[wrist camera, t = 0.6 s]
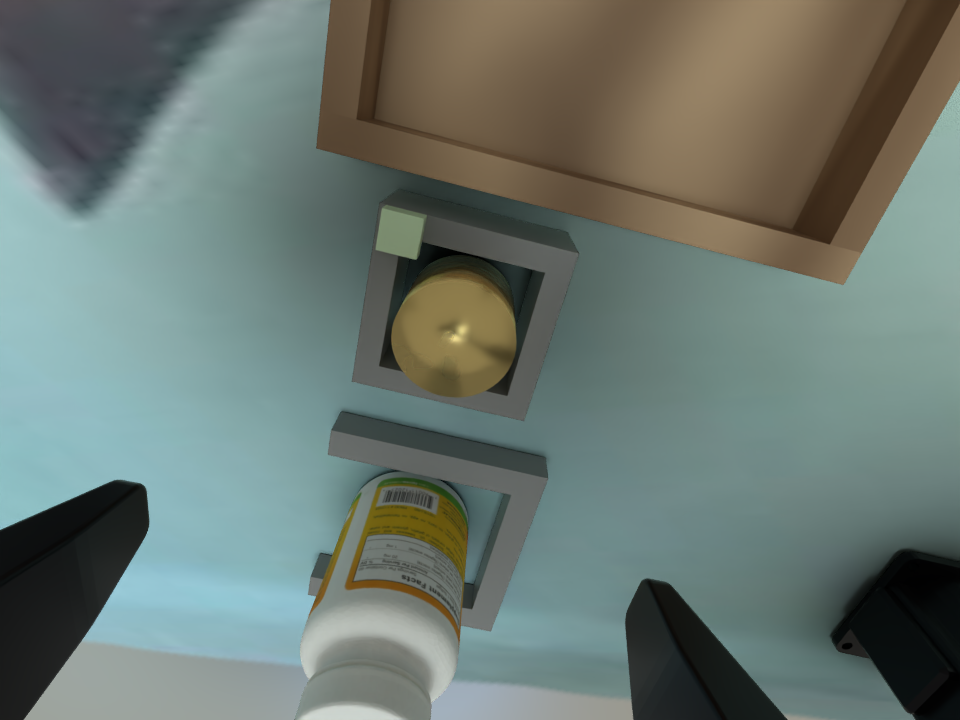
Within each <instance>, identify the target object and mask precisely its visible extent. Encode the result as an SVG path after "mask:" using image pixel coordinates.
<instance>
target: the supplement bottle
mask: <svg viewBox="0 0 960 720" xmlns="http://www.w3.org/2000/svg"><path fill="white" fill-rule="evenodd" d="M467 540H468V516H467V512H466V509H465V506H464V504H463V502H462V500H461V499H460V497H459V496H458V495H457V494H456V492H455V491H454V490H453V489H451V488H450V487H449V486H448V485H446V484H445V483H443V482H442V481H440V480H438V479H436V478H431V477H427V476H422V475H418V474H413V473H409V472H404V471H399V472H392V473H387V474H384V475H381V476H379V477H377V478H375V479H373V480H371V481H370V482H369V483H367V484H366V485H365V486H364V487H363V488H362V489H361V490H360V491H359V492H358V494H357V495H356V497H355V499H354V501H353V503H352V505H351V507H350V510H349V512H348V515H347V518H346V520H345V523H344V526H343V529H342V531H341V534H340V536H339V539H338V542H337V544H336V547H335V550H334V552H333V555H332V557H331V560H330V563H329V565H328V568H327V570H326V573H325V576H324V578H323V581H322V583H321V586H320V588H319V591H318V593H317V596H316V599H315V601H314V604H313V606H312V609H311V611H310V614H309V616H308V619H307V622H306V625H305V629H304V632H303V635H302V639H301V644H300V657H301V662H302V666H303V669H304V672H305V674H306V676H307V677H308V679H309V681H308V683H307V686H306V687H305V689H304V691H303V693H302V696H301V700H300V703H299V707H298V710H297V713H296V716H295V719H294V720H430V719H431V703H432V702H433V701H434V700H436V699H437V698H438V697H439V696H440V695H441V694H442V693H443V692H444V691H445V690H446V688H447V687H448V686H449V684H450V683H451V681H452V679H453V676H454V674H455V671H456V667H457V661H458V653H459V642H460V629H461V615H462V602H463V590H464V578H465V565H466V554H467Z"/></svg>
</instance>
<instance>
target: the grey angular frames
mask: <svg viewBox="0 0 960 720" xmlns="http://www.w3.org/2000/svg"><path fill="white" fill-rule="evenodd" d="M422 242H424V243H428V244H432V245H436V246H440V247H444V248H448V249H452V250H456V251H460V252H464V253H468V254H472V255H476V256H480V257H484V258H488V259H492V260H496V261H500V262H504V263H508V264H512V265H516V266H520V267H524V268H528V269H532V270H533V271H532V275H531V278H530V281H529V285H528V288H527V292H526V295H525V298H524V302H523V305H522V309H521V312H520V315H519V319H518V322H517V326H516V342H517V343H516V352H515V356H514V359H513V362H512V365H511V366H510V368H509V370H508V372H507V373H506V374H505V376H504V377H503V378H502V379H501V380H500V381H499V382H498V383H497V384H495V385H494V386H493V387H491V388H489V389H488V390H486V391H484V392H482V393H479V394H476V395H473V396H468V397H458V398H454V397H445V396H440V395H436V394H433V393H431V392H428V391H426V390H424V389H422V388H421V387H419V386H418V385H416V384H415V383H413V382H412V381H411V380H410V379H409V378H408V377H407V376H406V375H405V373H404V372H403V371H402V370H401V368H400V366H399V365H398V363H397V361H396V359H395V356H394V353H393V349H392V342H391V334H392V327H393V323H394V320H395V317H396V315H397V313H398V311H399V309H400V306H401V301H402V296H403V290H404V285H405V280H406V274H407V269H408V263H409V258H410V259H414V260H417V258H418V256H419V254H420V248H421V243H422ZM578 256H579V252H578V251H577V249H576V247H575V245H574V243H573V241H572V240H571V238H570V236H569V234H568V233H567V232H563V231H559V230H555V229H552V228H548V227H544V226H540V225H536V224H532V223H528V222H524V221H520V220H516V219H513V218H509V217H505V216H501V215H497V214H493V213H489V212H485V211H481V210H477V209H474V208H470V207H466V206H462V205H458V204H454V203H450V202H446V201H442V200H439V199H435V198H431V197H427V196H423V195H419V194H415V193H411V192H407V191H403V190H400V189H398V190H396V191H395V192H394V193H392V194H391V195H390V196H388V197H387V198H386V199H384V200H383V201H381V202H380V203H379V209H378V215H377V222H376V228H375V235H374V241H373V248H372V254H371V261H370V267H369V274H368V280H367V287H366V293H365V300H364V306H363V313H362V319H361V326H360V332H359V339H358V345H357V352H356V358H355V365H354V371H353V378H352V382H356V383H360V384H365V385H369V386H373V387H378V388H382V389H387V390H391V391H395V392H400V393H404V394H408V395H413V396H417V397H421V398H426V399H430V400H434V401H439V402H443V403H447V404H452V405H456V406H460V407H465V408H469V409H474V410H478V411H482V412H487V413H491V414H495V415H500V416H504V417H508V418H513V419H517V420H521V421H524V419H525V416H526V413H527V410H528V407H529V404H530V401H531V398H532V395H533V392H534V389H535V386H536V383H537V380H538V377H539V374H540V371H541V368H542V365H543V362H544V359H545V356H546V353H547V350H548V347H549V344H550V341H551V338H552V335H553V332H554V329H555V326H556V322H557V319H558V316H559V313H560V310H561V307H562V304H563V301H564V298H565V295H566V292H567V289H568V286H569V283H570V280H571V277H572V274H573V271H574V268H575V265H576V262H577V259H578ZM328 455H331V456H336V457H340V458H345V459H349V460H354V461H359V462H363V463H368V464H372V465H377V466H381V467H386V468H390V469H395V470H400V471H404V472H409V473H413V474H418V475H422V476H427V477H431V478H436V479H440V480H445V481H450V482H454V483H459V484H463V485H468V486H472V487H477V488H481V489H486V490H491V491H495V492H500V493H504V496H503V499H502V502H501V505H500V508H499V511H498V514H497V517H496V520H495V523H494V526H493V529H492V532H491V535H490V538H489V541H488V544H487V547H486V550H485V553H484V556H483V559H482V562H481V565H480V568H479V571H478V574H477V577H476V580H475V583H474V585H471V584H466V583H464V590H463V602H462V615H461V626H466V627H471V628H476V629H481V630H486V631H491V630H492V627H493V624H494V622H495V619H496V616H497V614H498V611H499V608H500V606H501V603H502V600H503V598H504V595H505V592H506V590H507V587H508V584H509V582H510V579H511V576H512V574H513V571H514V568H515V566H516V563H517V560H518V558H519V555H520V552H521V550H522V547H523V544H524V542H525V539H526V536H527V534H528V531H529V528H530V526H531V523H532V520H533V518H534V515H535V512H536V510H537V507H538V504H539V502H540V499H541V496H542V494H543V491H544V488H545V486H546V483H547V480H548V473H547V465H546V458H544V457H540V456H536V455H531V454H527V453H522V452H518V451H513V450H509V449H504V448H500V447H496V446H491V445H487V444H482V443H478V442H473V441H469V440H465V439H460V438H456V437H451V436H447V435H442V434H438V433H434V432H429V431H425V430H420V429H416V428H411V427H407V426H403V425H398V424H394V423H389V422H385V421H380V420H376V419H372V418H367V417H363V416H358V415H354V414H349V413H345V412H341V413H340V415H339V417H338V419H337V420H336V422H335V424H334V426H333V428H332V430H331V435H330V442H329V450H328ZM331 557H332V556H330V555H326V554H321V553H320V555H319V558H318V560H317V562H316V565H315V567H314V570H313V572H312V575H311V577H310V584H309V592H308V595H312V596H317V593H318V591H319V588H320V586H321V583H322V581H323V578H324V576H325V573H326V570H327V568H328V565H329V563H330V560H331Z"/></svg>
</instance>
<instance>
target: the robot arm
mask: <svg viewBox="0 0 960 720" xmlns="http://www.w3.org/2000/svg"><path fill="white" fill-rule="evenodd" d="M148 528H149V512H148V500H147V491H146V488H145V486H144V485H142V484H141V483H136V482H130V481H125V480H114V481H111V482H109V483H107V484H104V485H102V486H100V487H97V488H95V489H93V490H91V491H88V492H86V493H84V494H81V495H79V496H77V497H74V498H72V499H70V500H68V501H65V502H63V503H61V504H58V505H56V506H54V507H52V508H49V509H47V510H45V511H42V512H40V513H38V514H36V515H33V516H31V517H29V518H26V519H24V520H22V521H19V522H17V523H15V524H13V525H10V526H8V527H6V528H3V529H1V530H0V720H24V718H25V717H26V716H27V715H28V713H29V712H30V710H31V709H32V708H33V706H34V705H35V704H36V702H37V701H38V700H39V698H40V697H41V695H42V694H43V693H44V691H45V690H46V689H47V687H48V686H49V685H50V683H51V682H52V680H53V679H54V678H55V676H56V675H57V673H58V672H59V671H60V670H61V668H62V667H63V665H64V664H65V662H66V661H67V660H68V659H69V657H70V656H71V655H72V653H73V652H74V650H75V649H76V648H77V646H78V645H79V644H80V642H81V641H82V639H83V638H84V637H85V635H86V634H87V632H88V631H89V629H90V628H91V626H92V625H93V623H94V622H95V620H96V618H97V617H98V615H99V614H100V612H101V610H102V609H103V607H104V605H105V604H106V602H107V600H108V599H109V597H110V595H111V594H112V592H113V590H114V589H115V587H116V585H117V584H118V582H119V580H120V578H121V577H122V575H123V573H124V572H125V570H126V568H127V567H128V565H129V563H130V562H131V560H132V558H133V557H134V555H135V553H136V552H137V550H138V548H139V547H140V545H141V543H142V542H143V540H144V538H145V536H146V534H147V531H148ZM625 627H626V639H627V651H628V663H629V675H630V687H631V699H632V710H633V719H634V720H787V719H786V717H785V716H784V715H783V714H782V713H781V712H780V711H779V709H778V708H777V707H776V706H775V705H774V704H773V702H772V701H771V700H770V699H769V698H768V697H767V695H766V694H765V693H764V692H763V691H762V690H761V689H760V687H759V686H758V685H757V684H756V683H755V682H754V680H753V679H752V678H751V677H750V676H749V675H748V673H747V672H746V671H745V670H744V669H743V668H742V667H741V665H740V664H739V663H738V662H737V661H736V660H735V658H734V657H733V656H732V655H731V654H730V653H729V651H728V650H727V649H726V648H725V647H724V646H723V645H722V643H721V642H720V641H719V640H718V639H717V638H716V636H715V635H714V634H713V633H712V632H711V631H710V630H709V628H708V627H707V626H706V625H705V624H704V623H703V621H702V620H701V619H700V618H699V617H698V616H697V614H696V613H695V612H694V611H693V610H692V609H691V608H690V606H689V605H688V604H687V603H686V602H685V601H684V599H683V598H682V597H681V596H680V595H679V594H678V592H677V591H676V590H675V589H674V588H673V587H672V586H671V585H670V584H669V583H667V582H664V581H659V580H654V579H648V578H647V579H644V580H642V581H641V583H640V585H639V587H638V589H637V591H636V593H635V595H634V597H633V599H632V601H631V603H630V605H629V608H628V610H627V613H626V619H625ZM832 643H833V644H834V646H835V647H836V649H837V650H838V651H839V652H842V653H846V654H851V655H856V656H861V657H865V658H870V659H871V661H872V662H873V664H874V665H875V667H876V668H877V670H878V671H879V673H880V674H881V676H882V677H883V679H884V680H885V682H886V683H887V684H888V686H889V687H890V689H891V690H892V692H893V693H894V695H895V696H896V698H897V699H898V701H899V702H900V704H901V705H902V707H903V708H904V710H905V711H906V712H907V713H910V714H912V715H913V717H914V718H915V720H960V562H956V561H951V560H947V559H942V558H938V557H933V556H929V555H924V554H920V553H916V552H906V553H903V554H901V555H899V556H898V557H897V558H896V559H895V561H894V562H893V563H892V564H891V566H890V567H889V568H888V569H887V571H886V572H885V573H884V574H883V575H882V577H881V578H880V579H879V580H878V582H877V583H876V584H875V585H874V587H873V588H872V589H871V590H870V592H869V593H868V594H867V595H866V597H865V598H864V599H863V600H862V601H861V603H860V604H859V605H858V606H857V608H856V609H855V610H854V611H853V613H852V614H851V615H850V616H849V618H848V619H847V620H846V621H845V623H844V624H843V625H842V626H841V627H840V629H839V630H838V631H837V632H836V634H835V635H834V636H833V638H832Z"/></svg>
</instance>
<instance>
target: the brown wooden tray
mask: <svg viewBox="0 0 960 720" xmlns="http://www.w3.org/2000/svg"><path fill="white" fill-rule="evenodd" d="M959 81H960V0H331V4H330V14H329V24H328V34H327V44H326V55H325V65H324V75H323V85H322V95H321V105H320V116H319V126H318V136H317V146H316V148H317V149H321V150H325V151H329V152H332V153H336V154H340V155H344V156H348V157H352V158H356V159H359V160H363V161H367V162H371V163H375V164H379V165H383V166H386V167H390V168H394V169H398V170H402V171H406V172H410V173H413V174H417V175H421V176H425V177H429V178H433V179H437V180H440V181H444V182H448V183H452V184H456V185H460V186H464V187H467V188H471V189H475V190H479V191H483V192H487V193H491V194H494V195H498V196H502V197H506V198H510V199H514V200H518V201H522V202H525V203H529V204H533V205H537V206H541V207H545V208H549V209H552V210H556V211H560V212H564V213H568V214H572V215H576V216H579V217H583V218H587V219H591V220H595V221H599V222H603V223H606V224H610V225H614V226H618V227H622V228H626V229H630V230H633V231H637V232H641V233H645V234H649V235H653V236H657V237H660V238H664V239H668V240H672V241H676V242H680V243H684V244H687V245H691V246H695V247H699V248H703V249H707V250H711V251H714V252H718V253H722V254H726V255H730V256H734V257H738V258H741V259H745V260H749V261H753V262H757V263H761V264H765V265H769V266H772V267H776V268H780V269H784V270H788V271H792V272H796V273H799V274H803V275H807V276H811V277H815V278H819V279H823V280H826V281H830V282H834V283H838V284H842V285H844V283H845V281H846V280H847V278H848V276H849V274H850V272H851V271H852V269H853V267H854V265H855V264H856V262H857V260H858V258H859V257H860V255H861V253H862V251H863V250H864V248H865V246H866V244H867V243H868V241H869V239H870V237H871V236H872V234H873V232H874V230H875V229H876V227H877V225H878V223H879V222H880V220H881V218H882V216H883V215H884V213H885V211H886V209H887V207H888V206H889V204H890V202H891V200H892V199H893V197H894V195H895V193H896V192H897V190H898V188H899V186H900V185H901V183H902V181H903V179H904V178H905V176H906V174H907V172H908V171H909V169H910V167H911V165H912V164H913V162H914V160H915V158H916V157H917V155H918V153H919V151H920V149H921V148H922V146H923V144H924V142H925V141H926V139H927V137H928V135H929V134H930V132H931V130H932V128H933V127H934V125H935V123H936V121H937V120H938V118H939V116H940V114H941V113H942V111H943V109H944V107H945V106H946V104H947V102H948V100H949V99H950V97H951V95H952V93H953V92H954V90H955V88H956V86H957V84H958V83H959Z"/></svg>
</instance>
